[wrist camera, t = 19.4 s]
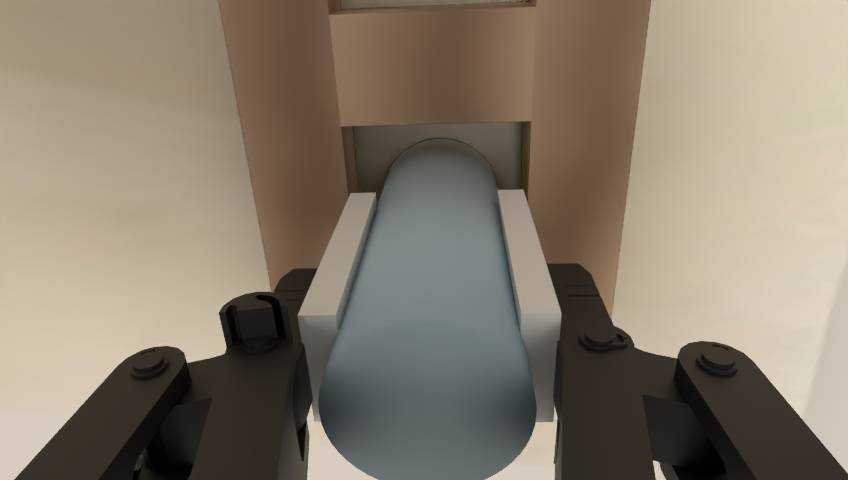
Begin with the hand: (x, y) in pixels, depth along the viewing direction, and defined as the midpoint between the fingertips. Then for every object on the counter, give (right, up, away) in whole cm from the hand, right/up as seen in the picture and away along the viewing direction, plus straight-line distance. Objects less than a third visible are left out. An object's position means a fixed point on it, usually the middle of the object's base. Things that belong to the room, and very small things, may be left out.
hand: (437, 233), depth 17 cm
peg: (0, +1, +3) cm, 3 cm away
